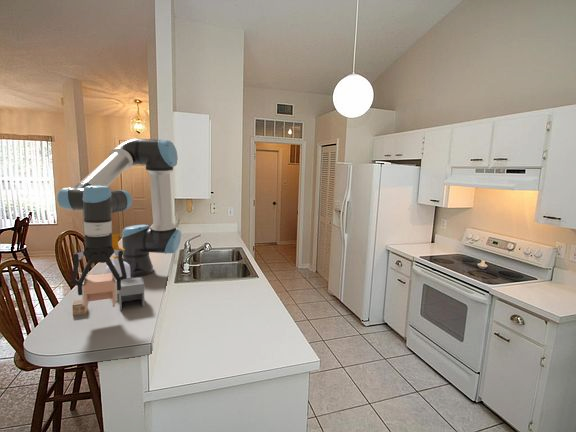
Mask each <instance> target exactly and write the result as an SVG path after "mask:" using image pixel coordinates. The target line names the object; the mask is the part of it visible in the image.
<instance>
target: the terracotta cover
mask: <svg viewBox="0 0 576 432" xmlns="http://www.w3.org/2000/svg"><path fill="white" fill-rule="evenodd" d="M83 283H84V301H85V311H87V312H88V310H87V309H89V302H92V301H94V302H95V301H102V300H109V299H112V307H113V308H115V307H116V301H115V288H114V275H113V274H112V273H106V272H105V273H94V274H87V275H86V277H85V279H84V281H83Z"/></svg>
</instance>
